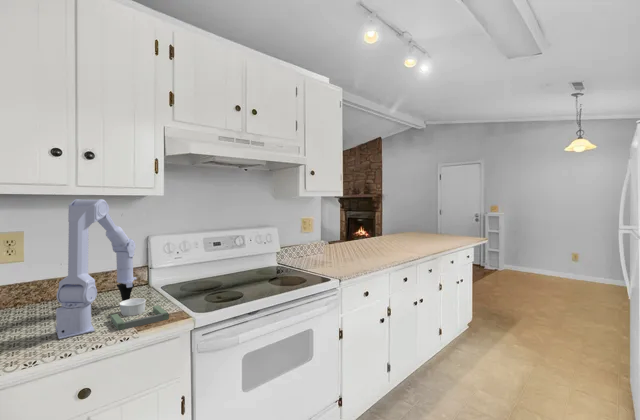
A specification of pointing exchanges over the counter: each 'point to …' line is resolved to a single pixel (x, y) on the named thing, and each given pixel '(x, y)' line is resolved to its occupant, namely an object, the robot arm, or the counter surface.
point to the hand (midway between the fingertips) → (125, 301)
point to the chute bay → (159, 316)
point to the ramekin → (132, 306)
